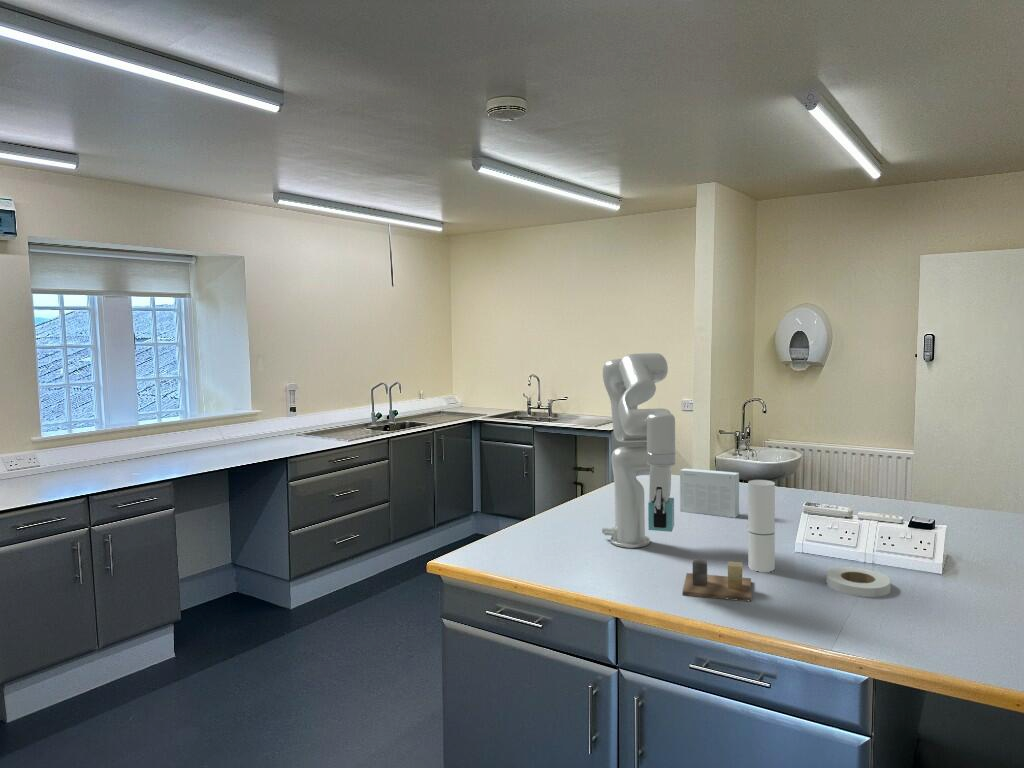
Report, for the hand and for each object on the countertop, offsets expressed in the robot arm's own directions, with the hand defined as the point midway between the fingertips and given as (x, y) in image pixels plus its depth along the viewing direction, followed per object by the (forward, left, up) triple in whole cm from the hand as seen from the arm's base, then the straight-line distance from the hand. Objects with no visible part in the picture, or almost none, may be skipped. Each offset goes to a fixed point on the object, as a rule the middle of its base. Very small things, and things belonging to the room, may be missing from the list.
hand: (661, 523), depth 189 cm
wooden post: (+19, 0, -17) cm, 25 cm away
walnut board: (+15, 0, -17) cm, 22 cm away
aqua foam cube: (0, 0, -1) cm, 1 cm away
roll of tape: (+50, +11, -17) cm, 54 cm away
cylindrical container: (+26, +19, -17) cm, 36 cm away
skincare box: (+9, +76, -17) cm, 78 cm away
